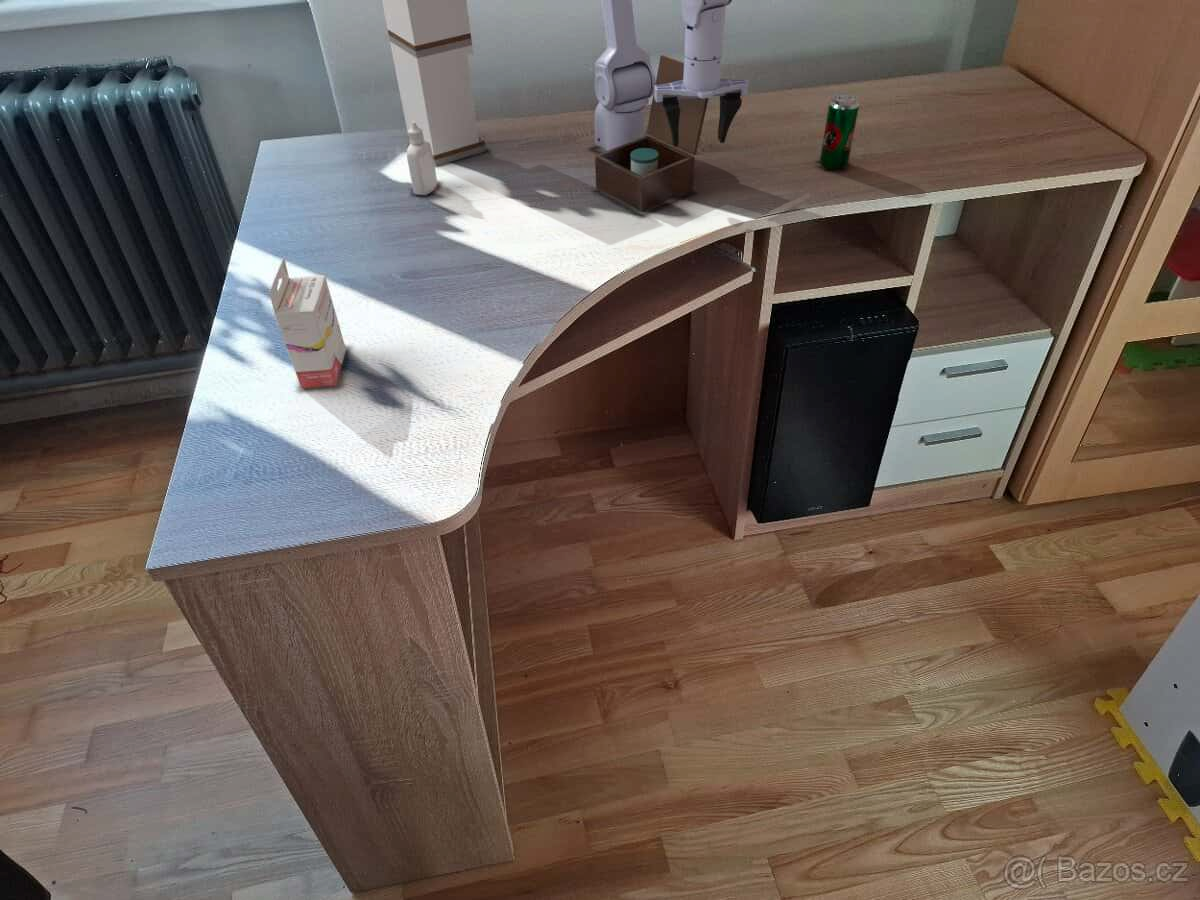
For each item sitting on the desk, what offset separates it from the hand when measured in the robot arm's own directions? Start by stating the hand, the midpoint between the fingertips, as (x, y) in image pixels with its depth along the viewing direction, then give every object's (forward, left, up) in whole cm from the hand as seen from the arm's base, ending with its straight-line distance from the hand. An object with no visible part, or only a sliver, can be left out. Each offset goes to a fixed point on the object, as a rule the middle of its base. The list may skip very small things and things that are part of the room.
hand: (698, 142), depth 133 cm
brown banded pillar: (-47, -21, -10) cm, 53 cm away
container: (-8, -5, -9) cm, 13 cm away
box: (-8, -5, -10) cm, 14 cm away
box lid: (-8, +3, +3) cm, 9 cm away
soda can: (+8, +27, -10) cm, 30 cm away
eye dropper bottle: (-35, -33, -10) cm, 49 cm away
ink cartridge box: (+1, -70, -10) cm, 70 cm away
